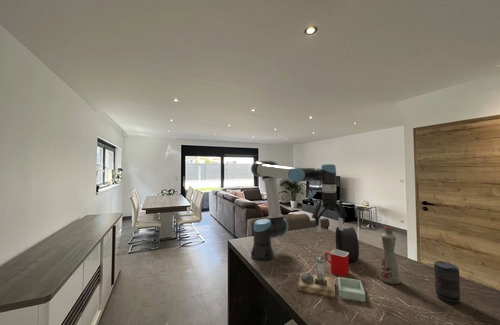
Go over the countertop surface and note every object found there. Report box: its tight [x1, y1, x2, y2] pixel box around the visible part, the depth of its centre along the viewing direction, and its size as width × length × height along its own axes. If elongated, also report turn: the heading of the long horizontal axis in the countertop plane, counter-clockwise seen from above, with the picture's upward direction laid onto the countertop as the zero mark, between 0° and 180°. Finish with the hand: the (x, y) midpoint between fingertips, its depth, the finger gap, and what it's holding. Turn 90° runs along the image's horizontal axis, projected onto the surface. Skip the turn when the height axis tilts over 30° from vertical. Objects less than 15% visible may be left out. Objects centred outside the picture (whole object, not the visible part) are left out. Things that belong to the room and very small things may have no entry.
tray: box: [337, 276, 366, 303], centre depth 95 cm, size 10×12×4 cm
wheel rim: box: [335, 226, 360, 262], centre depth 132 cm, size 20×9×20 cm, turn 168°
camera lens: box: [433, 260, 461, 305], centre depth 90 cm, size 8×8×15 cm
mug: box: [325, 249, 350, 278], centre depth 116 cm, size 12×8×11 cm
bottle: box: [378, 225, 401, 285], centre depth 106 cm, size 9×9×28 cm
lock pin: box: [314, 255, 327, 286], centre depth 100 cm, size 5×5×14 cm
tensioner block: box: [298, 272, 336, 298], centre depth 100 cm, size 16×12×4 cm
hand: (330, 230), depth 114 cm, fingers open, 13 cm apart
